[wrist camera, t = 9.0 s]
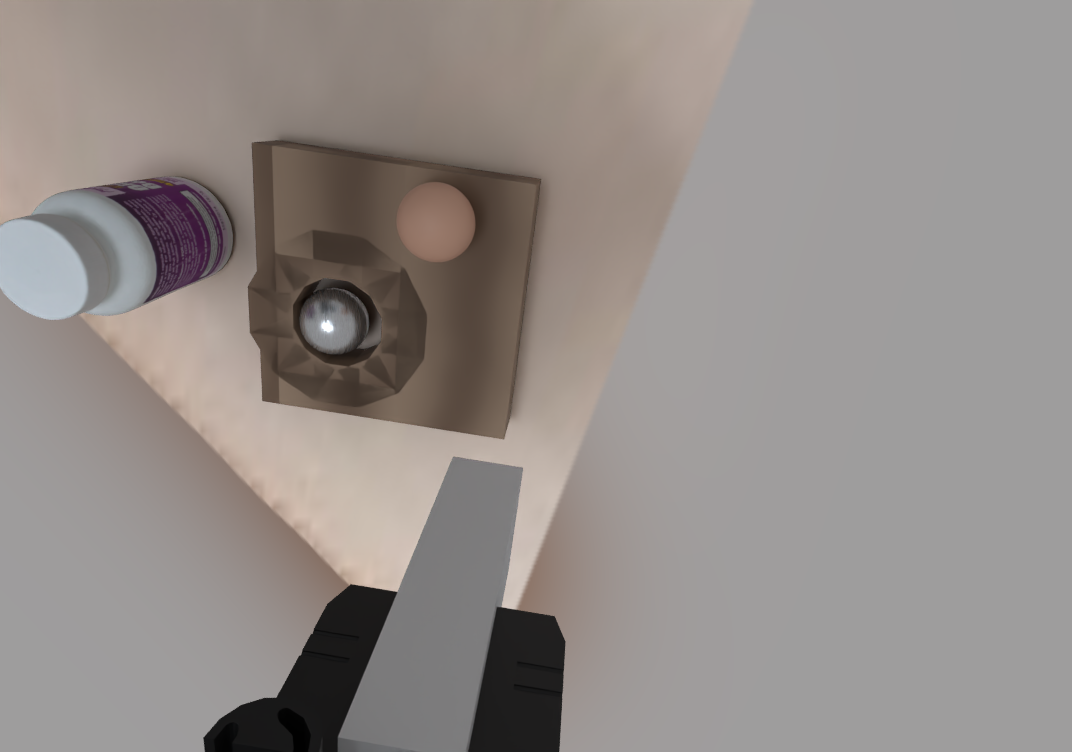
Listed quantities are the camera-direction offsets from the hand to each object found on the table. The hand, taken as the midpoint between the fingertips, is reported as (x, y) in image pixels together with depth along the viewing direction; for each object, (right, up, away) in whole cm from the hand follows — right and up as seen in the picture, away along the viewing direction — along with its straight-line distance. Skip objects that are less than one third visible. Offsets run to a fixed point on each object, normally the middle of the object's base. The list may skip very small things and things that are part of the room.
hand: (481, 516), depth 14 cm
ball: (-9, +6, +19) cm, 22 cm away
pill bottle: (-17, +11, +20) cm, 28 cm away
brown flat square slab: (-6, +8, +20) cm, 22 cm away
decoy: (-3, +10, +14) cm, 17 cm away
